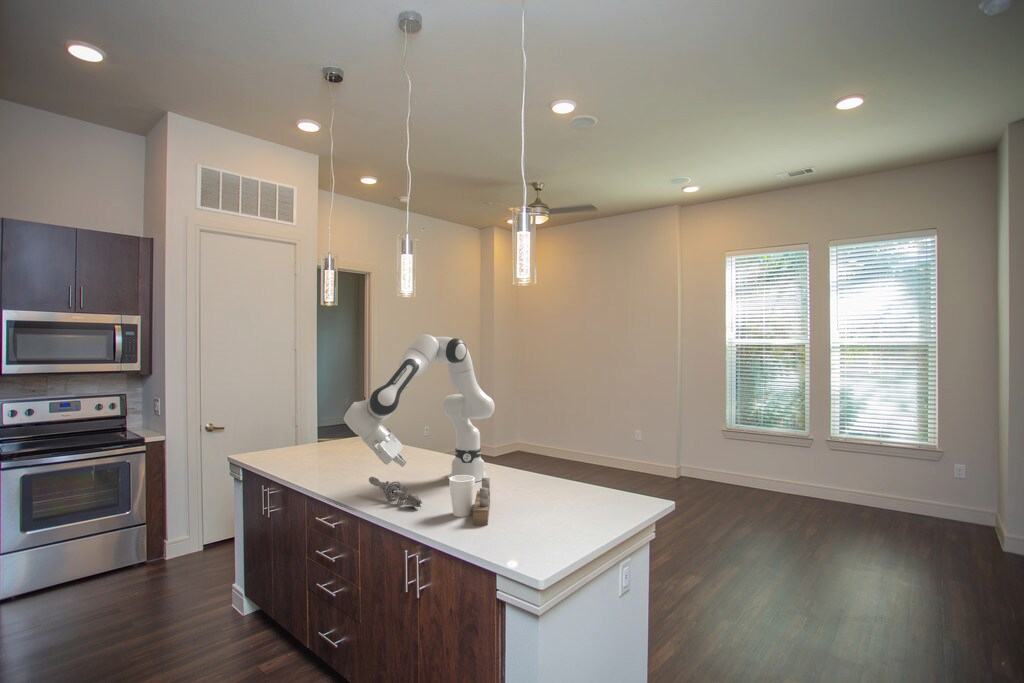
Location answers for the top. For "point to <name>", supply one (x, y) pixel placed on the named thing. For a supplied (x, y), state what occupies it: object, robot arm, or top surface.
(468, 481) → the foam cup
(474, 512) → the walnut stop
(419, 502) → the spaceship
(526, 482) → the top surface
